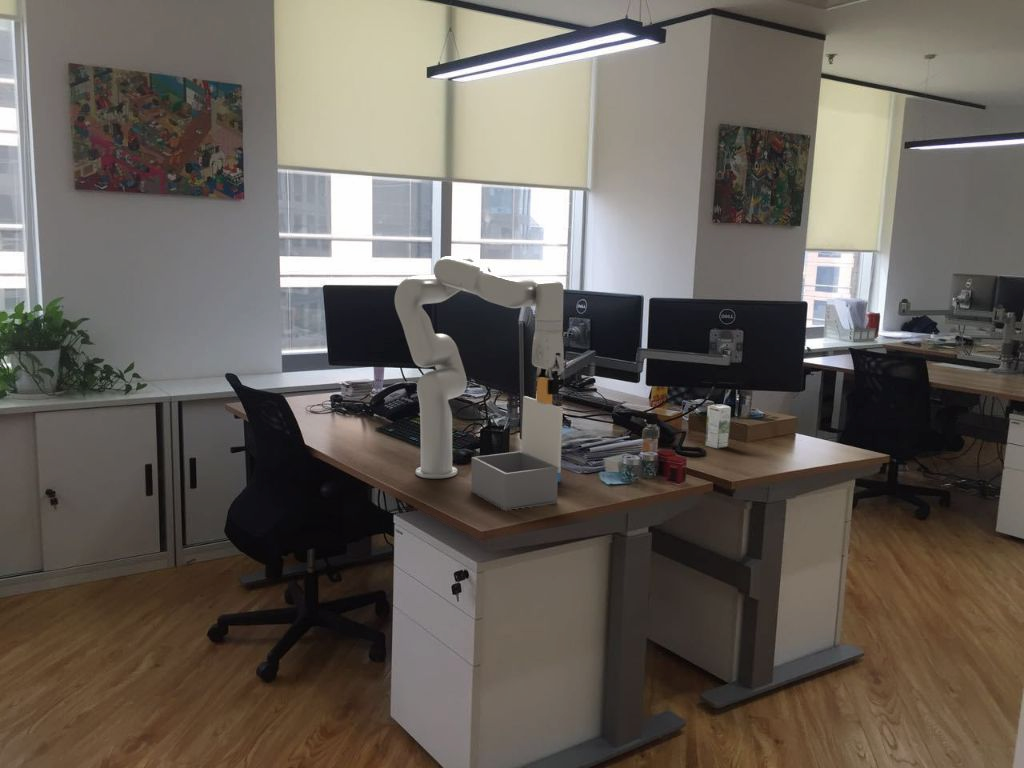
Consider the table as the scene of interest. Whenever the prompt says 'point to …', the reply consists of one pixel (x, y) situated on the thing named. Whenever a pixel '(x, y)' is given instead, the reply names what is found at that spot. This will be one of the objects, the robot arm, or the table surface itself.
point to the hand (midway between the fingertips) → (547, 391)
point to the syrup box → (718, 426)
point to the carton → (514, 480)
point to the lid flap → (542, 425)
